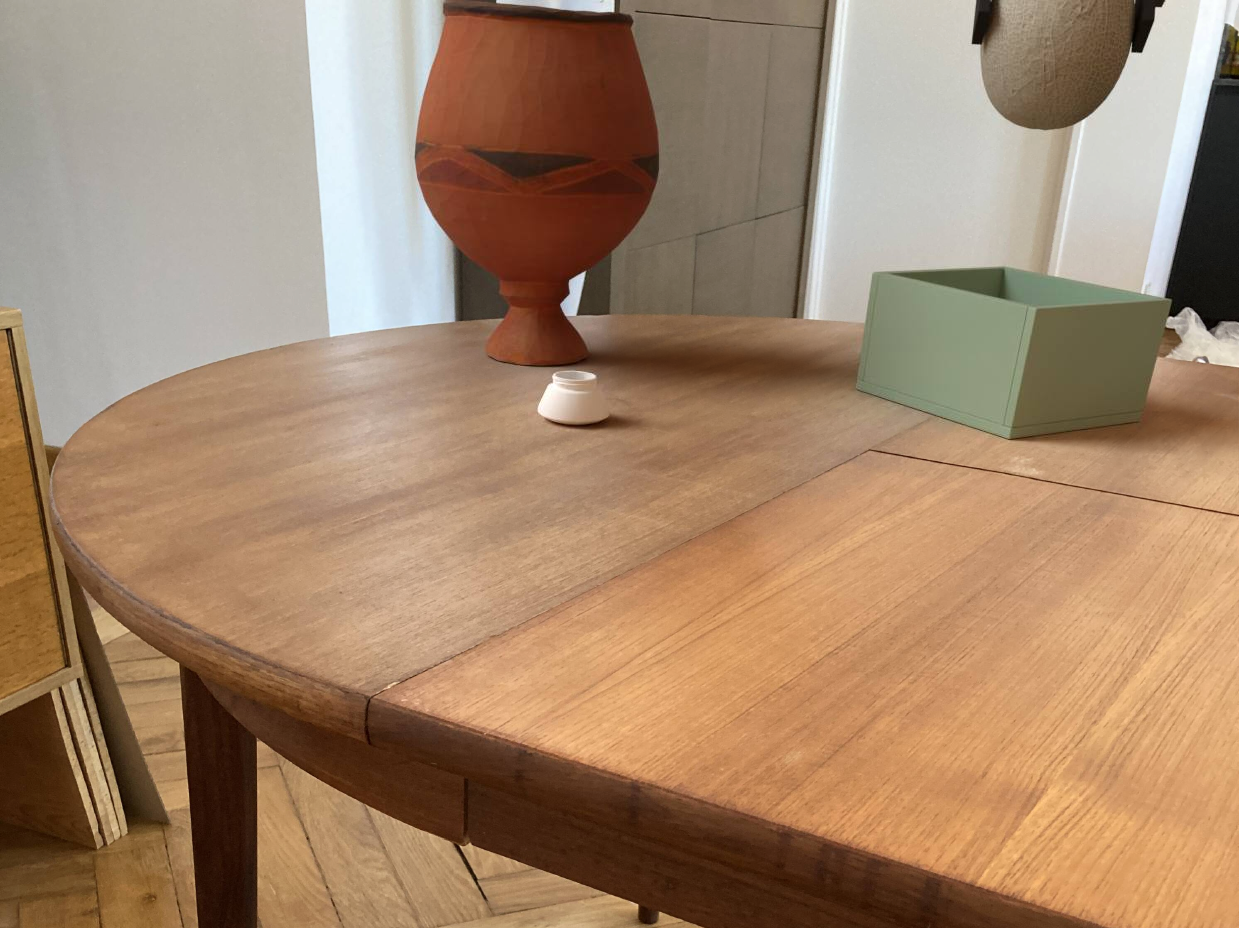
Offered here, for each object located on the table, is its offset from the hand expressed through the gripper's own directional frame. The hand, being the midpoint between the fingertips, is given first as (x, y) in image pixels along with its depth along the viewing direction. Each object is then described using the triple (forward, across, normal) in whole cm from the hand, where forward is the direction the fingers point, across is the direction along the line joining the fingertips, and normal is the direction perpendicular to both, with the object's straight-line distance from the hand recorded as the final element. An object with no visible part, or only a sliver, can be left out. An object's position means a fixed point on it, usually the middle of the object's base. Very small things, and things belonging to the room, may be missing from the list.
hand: (1060, 32), depth 88 cm
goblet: (+17, +38, -18) cm, 45 cm away
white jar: (+32, +30, -4) cm, 44 cm away
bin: (+20, 0, -15) cm, 25 cm away
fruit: (+2, 0, -6) cm, 7 cm away
